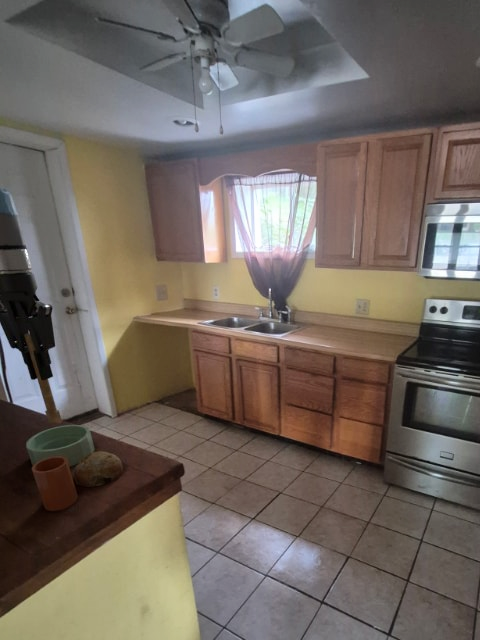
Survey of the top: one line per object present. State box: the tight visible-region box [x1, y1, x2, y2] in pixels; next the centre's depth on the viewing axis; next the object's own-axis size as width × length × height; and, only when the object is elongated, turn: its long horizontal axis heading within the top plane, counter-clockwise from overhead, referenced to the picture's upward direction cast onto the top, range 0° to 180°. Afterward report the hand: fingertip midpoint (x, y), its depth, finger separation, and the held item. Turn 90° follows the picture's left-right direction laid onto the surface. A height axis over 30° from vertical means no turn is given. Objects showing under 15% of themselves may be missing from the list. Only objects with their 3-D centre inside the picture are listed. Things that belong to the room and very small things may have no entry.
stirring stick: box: [24, 333, 63, 425], centre depth 87 cm, size 3×2×22 cm, turn 81°
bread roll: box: [73, 451, 124, 488], centre depth 86 cm, size 10×10×8 cm
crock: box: [31, 456, 79, 512], centre depth 76 cm, size 6×6×10 cm
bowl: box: [25, 424, 95, 468], centre depth 94 cm, size 14×14×6 cm
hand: (42, 377), depth 86 cm, fingers closed on stirring stick, 2 cm apart
